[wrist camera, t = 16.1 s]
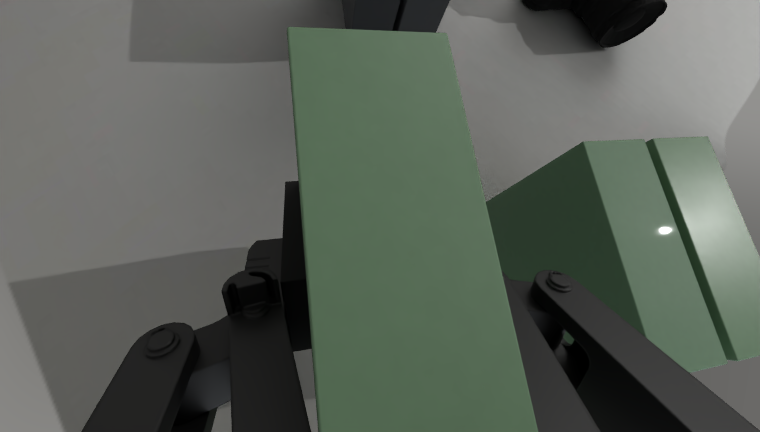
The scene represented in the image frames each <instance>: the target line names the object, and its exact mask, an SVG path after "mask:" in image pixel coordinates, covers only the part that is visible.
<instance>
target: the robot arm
mask: <svg viewBox="0 0 760 432" xmlns="http://www.w3.org/2000/svg"><path fill="white" fill-rule="evenodd" d="M502 276H503V280H504V284H505V289H506V293H507V297H508V302H509V306H510V310H511V315H512V319H513V324H514V328H515V332H516V337H517V341H518V345H519V350H520V354H521V358H522V363H523V367H524V371H525V376H526V380H527V385H528V389H529V393H530V398H531V402H532V406H533V411H534V415H535V419H536V424H537V428H538V432H760V430H758V429H757V428H756V427H755V426H753V425H752V424H751V423H749V422H748V421H747V420H746V419H745V418H744V417H742V416H741V415H740V414H739V413H738V412H736V411H735V410H734V409H733V408H731V407H730V406H729V405H728V404H727V403H725V402H724V401H723V400H722V399H720V398H719V397H718V396H717V395H716V394H714V393H713V392H712V391H711V390H709V389H708V388H707V387H706V386H705V385H703V384H702V383H701V382H700V381H698V380H697V379H696V378H695V377H694V376H692V375H691V374H690V373H689V372H688V371H686V370H685V369H684V368H683V367H681V366H680V365H679V364H678V363H677V362H675V361H674V360H673V359H672V358H670V357H669V356H668V355H667V354H666V353H664V352H663V351H662V350H661V349H659V348H658V347H657V346H656V345H655V344H653V343H652V342H651V341H650V340H648V339H647V338H646V337H645V336H644V335H642V334H641V333H640V332H639V331H637V330H636V329H635V328H634V327H633V326H631V325H630V324H629V323H628V322H626V321H625V320H624V319H623V318H622V317H620V316H619V315H618V314H617V313H615V312H614V311H613V310H612V309H611V308H609V307H608V306H607V305H606V304H604V303H603V302H602V301H601V300H600V299H598V298H597V297H596V296H595V295H593V294H592V293H591V292H590V291H589V290H587V289H586V288H585V287H584V286H582V285H581V284H580V283H579V282H578V281H576V280H575V279H573V278H572V277H570V276H569V275H566V274H564V273H561V272H558V271H553V270H543V271H540V272H538V273H537V274H536V276H535V278H534V281H533V282H528V281H518V280H511V279H509V278H508V277H507V275H506V274H505V273H504V272H503V271H502ZM222 295H223V299H224V302H225V306H226V309H227V313H228V315H227V316H226V317H224V318H223V319H221V320H219V321H217V322H215V323H213V324H210V325H208V326H205V327H202V328H200V329H197V330H194V331H193V329H192V327H191V326H189V325H187V324H185V323H175V322H173V323H169V324H164V325H161V326H158V327H156V328H154V329H152V330H150V331H148V332H147V333H145V334H144V335H143V336H141V337H140V338H139V339H138V340H137V341H136V342H135V343H134V345H133V346H132V347H131V348H130V350H129V352H128V353H127V355H126V357H125V359H124V360H123V362H122V364H121V365H120V367H119V369H118V370H117V372H116V374H115V375H114V377H113V379H112V381H111V382H110V384H109V386H108V387H107V389H106V391H105V392H104V394H103V396H102V398H101V399H100V401H99V403H98V404H97V406H96V408H95V409H94V411H93V413H92V415H91V416H90V418H89V420H88V421H87V423H86V425H85V426H84V428H83V430H82V431H81V432H211V430H212V426H213V422H214V419H215V415H216V411H217V407H218V406H220V405H222V404H224V403H226V402H228V401H230V400H231V417H232V432H311V430H310V425H309V421H308V416H307V412H306V408H305V403H304V399H303V394H302V390H301V385H300V381H299V377H298V372H297V368H296V363H295V359H294V355H293V352H294V351H300V350H306V349H312V344H311V331H310V319H309V306H308V293H307V281H306V268H305V255H304V243H303V230H302V217H301V205H300V192H299V181H291V182H285V201H284V220H283V238H280V239H270V240H259V241H256V242H255V243H254V244H253V245H252V247H251V248H250V249H249V251H248V256H247V261H246V266H245V270H244V271H241V272H238V273H237V274H235V275H233V276H232V277H230V278H229V279H228V280H227V281H226V282H225V284H224V285H223V288H222ZM565 332H567V333H568V334H569V335H570V336H571V337H572V338H573V339H574V341H573V343H572V344H569V343H568V342H567V341H566V340H565V339H564V338H563V337H564V335H565Z"/></svg>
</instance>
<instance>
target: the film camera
mask: <svg viewBox="0 0 760 432" xmlns="http://www.w3.org/2000/svg"><path fill="white" fill-rule="evenodd" d="M523 3H524V4H525V6H527V7H528V8H529V9H532V10H535V11H543V10H554V9H572V10H573V11H574V12H575V13H576V16H577V17H582V18H583V21H584V23H585V24H586V25H587V26H588V27H589V29H590V32H591V35H592V37H593V38H594V39H595V40H596V41H599V43H600V45H601V46H602V47H613V46H617V45H620V44H622V43H624V42H626V41H628V40H630V39H632V38H634V37H635V36H637V35H639V34H640V33H642V32H643V31H644V30H645V29H646V28H648V27H649V26H651V25H652V24H653V23H654V22H655V21H656V19H657V18H658V17H659V16H660V15H662V14H663V13H664V12H665V10H666V8H667V3H666V2H665V0H523Z"/></svg>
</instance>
